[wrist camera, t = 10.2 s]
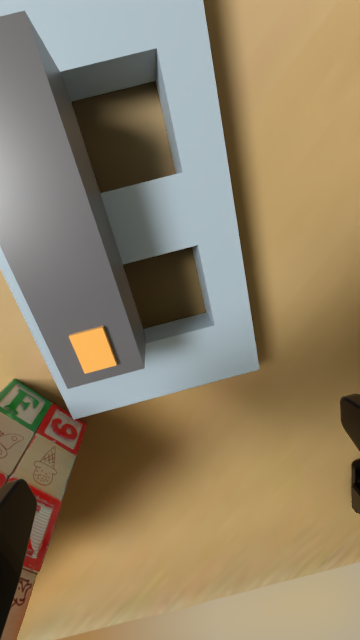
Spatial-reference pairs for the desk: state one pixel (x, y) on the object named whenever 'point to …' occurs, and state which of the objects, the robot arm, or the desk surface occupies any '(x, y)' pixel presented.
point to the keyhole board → (157, 187)
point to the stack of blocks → (35, 474)
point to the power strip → (59, 219)
